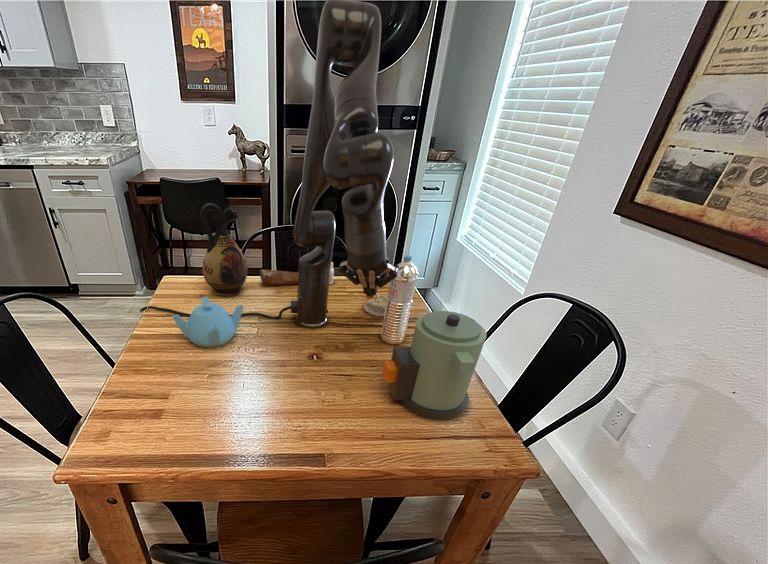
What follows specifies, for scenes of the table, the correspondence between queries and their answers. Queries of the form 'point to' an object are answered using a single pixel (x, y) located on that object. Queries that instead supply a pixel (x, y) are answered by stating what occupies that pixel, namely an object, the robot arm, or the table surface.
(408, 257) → the water bottle
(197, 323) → the teapot
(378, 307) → the cake
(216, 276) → the ceramic jug
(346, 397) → the table surface
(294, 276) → the bread
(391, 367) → the switch
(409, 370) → the kettle
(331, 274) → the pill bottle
